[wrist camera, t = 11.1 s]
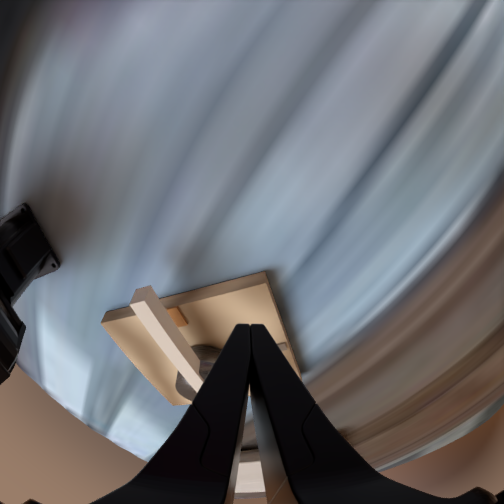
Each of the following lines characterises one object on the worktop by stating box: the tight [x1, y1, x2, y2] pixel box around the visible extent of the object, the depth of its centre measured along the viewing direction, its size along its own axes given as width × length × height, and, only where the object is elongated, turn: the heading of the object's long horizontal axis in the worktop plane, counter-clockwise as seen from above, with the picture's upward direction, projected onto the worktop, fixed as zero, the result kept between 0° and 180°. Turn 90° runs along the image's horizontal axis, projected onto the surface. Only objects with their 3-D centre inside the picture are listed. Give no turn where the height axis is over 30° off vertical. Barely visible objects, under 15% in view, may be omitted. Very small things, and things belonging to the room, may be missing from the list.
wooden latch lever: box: [129, 285, 222, 401], centre depth 22 cm, size 13×5×3 cm, turn 18°
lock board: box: [101, 271, 302, 406], centre depth 26 cm, size 15×14×2 cm
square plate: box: [235, 449, 265, 493], centre depth 45 cm, size 27×27×4 cm
